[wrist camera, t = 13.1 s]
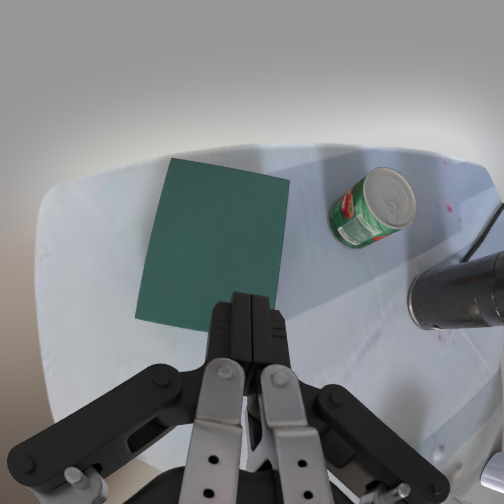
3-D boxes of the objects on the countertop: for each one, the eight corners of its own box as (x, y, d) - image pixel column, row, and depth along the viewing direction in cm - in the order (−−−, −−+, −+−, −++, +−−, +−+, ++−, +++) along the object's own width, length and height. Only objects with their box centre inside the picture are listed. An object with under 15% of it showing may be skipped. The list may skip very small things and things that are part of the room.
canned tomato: (330, 192, 44) (365, 157, 34) (375, 206, 45) (416, 178, 35) (324, 242, 42) (362, 218, 32) (371, 255, 43) (417, 236, 33)
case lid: (171, 161, 31) (171, 157, 30) (288, 183, 32) (290, 180, 32) (136, 318, 27) (134, 318, 26) (268, 340, 28) (270, 341, 28)
